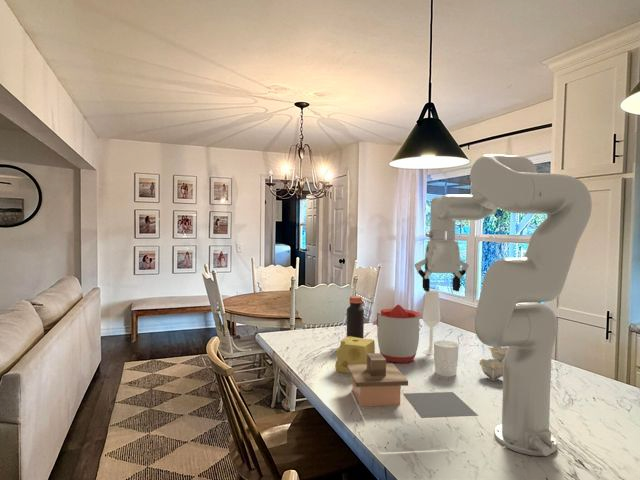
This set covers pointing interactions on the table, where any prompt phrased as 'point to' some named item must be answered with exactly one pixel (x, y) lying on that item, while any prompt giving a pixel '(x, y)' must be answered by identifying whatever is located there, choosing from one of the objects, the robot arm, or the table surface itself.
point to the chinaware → (494, 363)
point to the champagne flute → (431, 315)
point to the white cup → (446, 357)
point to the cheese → (353, 352)
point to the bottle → (355, 318)
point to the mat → (439, 405)
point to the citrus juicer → (398, 334)
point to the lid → (376, 373)
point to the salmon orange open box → (377, 395)
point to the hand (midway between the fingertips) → (441, 290)
